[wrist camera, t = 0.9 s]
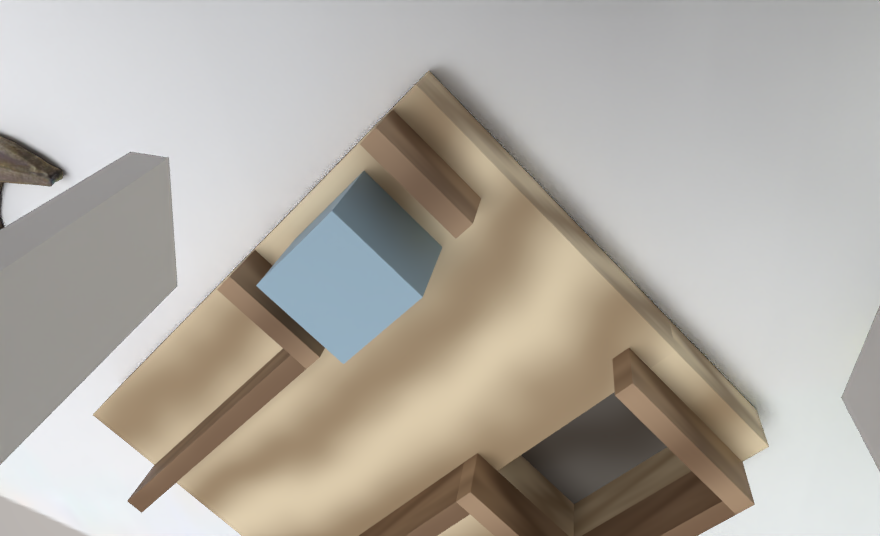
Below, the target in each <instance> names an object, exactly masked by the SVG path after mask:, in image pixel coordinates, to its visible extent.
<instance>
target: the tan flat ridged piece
mask: <svg viewBox="0 0 880 536" xmlns="http://www.w3.org/2000/svg"><path fill="white" fill-rule="evenodd" d="M363 171H365V172H366V173H367V174H368V175H369V176H370V177H371V178H372V179H373V180H374V181H375V182H376V183H377V184H378V185H379V186H380V187H381V188H382V189H383V190H385V191H386V192H387V193H388V194H389V195H390V196H391V197H392V198H393V199H394V200H395V201H396V202H397V203H398V204H399V205H400V206H401V207H402V208H403V209H404V210H405V211H406V212H407V213H408V214H409V215H410V216H411V217H412V218H413V219H414V220H415V221H416V222H417V223H418V224H419V225H420V226H421V227H422V228H423V229H424V230H425V231H426V232H428V233H429V234H430V235H431V236H432V237H433V238H434V239H435V240H436V241H437V242H438V243H439V244H440V245H441V246H442V250H441V252H440V255H439V257H438V260H437V262H436V265H435V267H434V270H433V272H432V275H431V277H430V280H429V282H428V285H427V287H426V290H425V293H424V295H423V297H422V298H421V299H420V300H419V301H418V302H416V303H415V304H414V305H413V306H412V307H410V308H409V309H408V310H407V311H406V312H405V313H403V314H402V315H401V316H400V317H399V318H397V319H396V320H395V321H394V322H393V323H392V324H390V325H389V326H388V327H387V328H386V329H385V330H383V331H382V332H381V333H380V334H379V335H377V336H376V337H375V338H374V339H373V340H372V341H370V342H369V343H368V344H367V345H366V346H364V347H363V348H362V349H361V350H360V351H359V352H357V353H356V354H355V355H354V356H353V357H351V358H350V359H349V360H348V361H347V362H346V363H344V364H343V363H341V362H340V361H339V360H338V359H337V358H336V357H335V356H334V355H333V354H331V353H330V352H329V351H328V350H327V349H326V348H325V347H324V346H323V345H321V344H320V343H319V342H318V341H317V340H316V339H315V338H314V337H313V336H311V335H310V334H309V333H308V332H307V331H306V330H305V329H304V328H303V327H301V326H300V325H299V324H298V323H297V322H296V321H295V320H294V319H293V318H291V317H290V316H289V315H288V314H287V313H286V312H285V311H284V310H283V309H281V308H280V307H279V306H278V305H277V304H276V303H275V302H274V301H273V300H271V299H270V298H269V297H268V296H267V295H266V294H265V293H264V292H263V291H261V290H260V289H259V288H258V287H257V286H256V285H257V284H258V283H259V282H260V280H261V279H262V278H263V277H264V276H265V274H266V273H267V272H268V271H269V270H270V268H271V267H272V266H273V265H274V264H275V262H276V261H277V260H278V259H279V258H280V256H281V255H282V254H283V253H284V252H285V250H286V249H287V248H288V247H289V246H290V245H291V243H292V242H293V241H294V240H295V239H296V238H297V237H298V236H299V235H300V234H301V233H302V232H303V231H304V230H305V229H306V228H307V227H308V226H309V225H310V224H311V223H312V222H313V221H314V220H315V219H316V218H317V217H318V216H319V215H320V214H321V213H322V212H323V211H324V210H325V209H326V208H327V207H328V206H329V205H330V204H331V203H332V202H333V201H334V200H335V199H336V198H337V197H338V196H339V195H340V194H341V193H342V192H343V191H344V190H345V189H346V188H347V187H348V186H349V185H350V184H351V183H352V182H353V181H354V180H355V179H356V178H357V177H358V176H359V175H360V174H361V173H362V172H363ZM93 416H95V417H96V418H97V419H98V420H100V421H101V422H102V423H103V424H105V425H106V426H107V427H108V428H110V429H111V430H112V431H113V432H114V433H116V434H117V435H118V436H119V437H121V438H122V439H123V440H124V441H126V442H127V443H128V444H129V445H130V446H132V447H133V448H134V449H135V450H137V451H138V452H139V453H140V454H142V455H143V456H144V457H145V458H147V459H148V460H149V461H150V462H151V463H153V464H154V466H153V468H152V469H151V470H150V472H149V473H148V474H147V476H146V477H145V478H144V480H143V481H142V482H141V484H140V485H139V486H138V488H137V489H136V490H135V492H134V493H133V494H132V496H131V497H130V498H129V500H128V502H129V503H130V504H132V505H133V506H134V507H135V508H137V509H138V510H139V511H140V512H143V511H144V510H145V509H146V508H148V507H149V506H150V505H151V504H152V503H153V502H154V501H156V500H157V499H158V498H159V497H160V496H161V495H162V494H164V493H165V492H166V491H167V490H168V489H169V488H170V487H172V486H173V485H174V484H175V483H177V484H179V485H180V486H181V487H182V488H184V489H185V490H186V491H187V492H188V493H190V494H191V495H192V496H193V497H195V498H196V499H197V500H198V501H200V502H201V503H202V504H203V505H205V506H206V507H207V508H208V509H209V510H211V511H212V512H213V513H214V514H216V515H217V516H218V517H219V518H221V519H222V520H223V521H224V522H225V523H227V524H228V525H229V526H230V527H232V528H233V529H234V530H235V531H237V532H238V533H239V534H240V535H242V536H698V535H699V534H701V533H703V532H705V531H707V530H709V529H710V528H712V527H714V526H716V525H718V524H720V523H722V522H723V521H725V520H727V519H729V518H731V517H733V516H734V515H736V514H738V513H740V512H742V511H744V510H745V509H747V508H749V507H751V506H753V505H755V504H754V500H753V497H752V494H751V490H750V487H749V483H748V480H747V476H746V473H745V469H744V466H743V461H745V460H746V459H748V458H750V457H751V456H753V455H755V454H757V453H758V452H760V451H762V450H764V449H765V448H767V447H769V446H768V443H767V440H766V437H765V434H764V431H763V428H762V425H761V422H760V419H759V416H758V413H757V411H756V409H755V408H754V407H753V406H752V405H751V404H750V403H749V402H748V401H747V400H746V399H745V398H744V397H743V396H742V395H741V393H740V392H739V391H738V390H737V389H736V388H735V387H734V386H733V385H732V384H731V383H730V382H729V381H728V380H727V379H726V378H725V377H724V376H723V375H722V374H721V373H720V372H719V371H718V370H717V369H716V368H715V367H714V366H713V364H712V363H711V362H710V361H709V360H708V359H707V358H706V357H705V356H704V355H703V354H702V353H701V352H700V351H699V350H698V349H697V348H696V347H695V346H694V345H693V344H692V343H691V342H690V341H689V340H688V339H687V338H686V337H685V335H684V334H683V333H682V332H681V331H680V330H679V329H678V328H677V327H676V326H675V325H674V324H673V323H672V322H671V321H670V320H669V319H668V318H667V317H666V316H665V315H664V314H663V313H662V312H661V311H660V310H659V309H658V308H657V306H656V305H655V304H654V303H653V302H652V301H651V300H650V299H649V298H648V297H647V296H646V295H645V294H644V293H643V292H642V291H641V290H640V289H639V288H638V287H637V286H636V285H635V284H634V283H633V282H632V281H631V280H630V279H629V277H628V276H627V275H626V274H625V273H624V272H623V271H622V270H621V269H620V268H619V267H618V266H617V265H616V264H615V263H614V262H613V261H612V260H611V259H610V258H609V257H608V256H607V255H606V254H605V253H604V252H603V251H602V250H601V248H600V247H599V246H598V245H597V244H596V243H595V242H594V241H593V240H592V239H591V238H590V237H589V236H588V235H587V234H586V233H585V232H584V231H583V230H582V229H581V228H580V227H579V226H578V225H577V224H576V223H575V222H574V221H573V219H572V218H571V217H570V216H569V215H568V214H567V213H566V212H565V211H564V210H563V209H562V208H561V207H560V206H559V205H558V204H557V203H556V202H555V201H554V200H553V199H552V198H551V197H550V196H549V195H548V194H547V193H546V191H545V190H544V189H543V188H542V187H541V186H540V185H539V184H538V183H537V182H536V181H535V180H534V179H533V178H532V177H531V176H530V175H529V174H528V173H527V172H526V171H525V170H524V169H523V168H522V167H521V166H520V165H519V164H518V162H517V161H516V160H515V159H514V158H513V157H512V156H511V155H510V154H509V153H508V152H507V151H506V150H505V149H504V148H503V147H502V146H501V145H500V144H499V143H498V142H497V141H496V140H495V139H494V138H493V137H492V136H491V135H490V133H489V132H488V131H487V130H486V129H485V128H484V127H483V126H482V125H481V124H480V123H479V122H478V121H477V120H476V119H475V118H474V117H473V116H472V115H471V114H470V113H469V112H468V111H467V110H466V109H465V108H464V107H463V106H462V104H461V103H460V102H459V101H458V100H457V99H456V98H455V97H454V96H453V95H452V94H451V93H450V92H449V91H448V90H447V89H446V88H445V87H444V86H443V85H442V84H441V83H440V82H439V81H438V80H437V79H436V78H435V77H434V75H433V74H432V73H431V72H430V71H428V72H427V73H426V74H425V75H424V76H423V77H422V78H421V79H420V80H419V81H418V82H417V83H416V84H415V85H414V86H413V87H412V88H411V89H410V90H409V91H408V92H407V93H406V94H405V95H404V96H403V97H402V98H401V99H400V100H399V101H398V102H397V104H396V105H395V106H394V107H393V108H392V109H391V110H390V111H389V112H388V113H387V114H386V115H385V116H384V117H383V118H382V119H381V120H380V121H379V122H378V123H377V124H376V125H375V126H374V127H373V128H372V129H371V130H370V131H369V132H368V133H367V134H366V135H365V136H364V137H363V138H362V139H361V140H360V141H359V142H358V143H357V144H356V145H355V146H354V147H353V148H352V149H351V150H350V152H349V153H348V154H347V155H346V156H345V157H344V158H343V159H342V160H341V161H340V162H339V163H338V164H337V165H336V166H335V167H334V168H333V169H332V170H331V171H330V172H329V173H328V174H327V175H326V176H325V177H324V178H323V179H322V180H321V181H320V182H319V183H318V184H317V185H316V186H315V187H314V188H313V189H312V190H311V191H310V192H309V193H308V194H307V195H306V196H305V197H304V198H303V199H302V201H301V202H300V203H299V204H298V205H297V206H296V207H295V208H294V209H293V210H292V211H291V212H290V213H289V214H288V215H287V216H286V217H285V218H284V219H283V220H282V221H281V222H280V223H279V224H278V225H277V226H276V227H275V228H274V229H273V230H272V231H271V232H270V233H269V234H268V235H267V236H266V237H265V238H264V239H263V240H262V241H261V242H260V243H259V244H258V245H257V246H256V247H255V249H254V250H253V251H252V252H251V253H250V254H249V255H248V256H247V257H246V258H245V259H244V260H243V261H242V262H241V263H240V264H239V265H238V266H237V267H236V268H235V269H234V270H233V271H232V272H231V273H230V274H229V275H228V276H227V277H226V278H225V279H224V280H223V281H222V282H221V283H220V284H219V285H218V286H217V287H216V288H215V289H214V290H213V291H212V292H211V293H210V294H209V295H208V297H207V298H206V299H205V300H204V301H203V302H202V303H201V304H200V305H199V306H198V307H197V308H196V309H195V310H194V311H193V312H192V313H191V314H190V315H189V316H188V317H187V318H186V319H185V320H184V321H183V322H182V323H181V324H180V325H179V326H178V327H177V328H176V329H175V330H174V331H173V332H172V333H171V334H170V335H169V336H168V337H167V338H166V339H165V340H164V341H163V342H162V343H161V345H160V346H159V347H158V348H157V349H156V350H155V351H154V352H153V353H152V354H151V355H150V356H149V357H148V358H147V359H146V360H145V361H144V362H143V363H142V364H141V365H140V366H139V367H138V368H137V369H136V370H135V371H134V372H133V373H132V374H131V375H130V376H129V377H128V378H127V379H126V380H125V381H124V382H123V383H122V384H121V385H120V386H119V387H118V389H117V390H116V391H115V392H114V393H113V394H112V395H111V396H110V397H109V398H108V399H107V400H106V401H105V402H104V403H103V404H102V405H101V407H100V408H99V409H98V410H97V411H96V412H95V413H94V414H93Z"/></svg>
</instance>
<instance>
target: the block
mask: <svg viewBox="0 0 880 536" xmlns="http://www.w3.org/2000/svg"><path fill="white" fill-rule="evenodd" d="M441 250H442V246H441V245H440V244H439V243H438V242H437V241H436V240H435V239H434V238H433V237H432V236H431V235H430V234H429V233H428V232H426V231H425V230H424V229H423V228H422V227H421V226H420V225H419V224H418V223H417V222H416V221H415V220H414V219H413V218H412V217H411V216H410V215H409V214H408V213H407V212H406V211H405V210H404V209H403V208H402V207H401V206H400V205H399V204H398V203H397V202H396V201H395V200H394V199H393V198H392V197H391V196H390V195H389V194H388V193H387V192H386V191H385V190H383V189H382V188H381V187H380V186H379V185H378V184H377V183H376V182H375V181H374V180H373V179H372V178H371V177H370V176H369V175H368V174H367V173H366V172H365V171H363V172H362V173H361V174H360V175H359V176H358V177H357V178H356V179H355V180H354V181H353V182H352V183H351V184H350V185H349V186H348V187H347V188H346V189H345V190H344V191H343V192H342V193H341V194H340V195H339V196H338V197H337V198H336V199H335V200H334V201H333V202H332V203H331V204H330V205H329V206H328V207H327V208H326V209H325V210H324V211H323V212H322V213H321V214H320V215H319V216H318V217H317V218H316V219H315V220H314V221H313V222H312V223H311V224H310V225H309V226H308V227H307V228H306V229H305V230H304V231H303V232H302V233H301V234H300V235H299V236H298V237H297V238H296V239H295V240H294V241H293V242H292V243H291V245H290V246H289V247H288V248H287V249H286V250H285V252H284V253H283V254H282V255H281V256H280V258H279V259H278V260H277V261H276V262H275V264H274V265H273V266H272V267H271V268H270V270H269V271H268V272H267V273H266V274H265V276H264V277H263V278H262V279H261V280H260V282H259V283H258V284H257V285H256V286H257V287H258V288H259V289H260V290H261V291H263V292H264V293H265V294H266V295H267V296H268V297H269V298H270V299H271V300H273V301H274V302H275V303H276V304H277V305H278V306H279V307H280V308H281V309H283V310H284V311H285V312H286V313H287V314H288V315H289V316H290V317H291V318H293V319H294V320H295V321H296V322H297V323H298V324H299V325H300V326H301V327H303V328H304V329H305V330H306V331H307V332H308V333H309V334H310V335H311V336H313V337H314V338H315V339H316V340H317V341H318V342H319V343H320V344H321V345H323V346H324V347H325V348H326V349H327V350H328V351H329V352H330V353H331V354H333V355H334V356H335V357H336V358H337V359H338V360H339V361H340V362H341V363H343V364H344V363H346V362H347V361H348V360H349V359H350V358H351V357H353V356H354V355H355V354H356V353H357V352H359V351H360V350H361V349H362V348H363V347H364V346H366V345H367V344H368V343H369V342H370V341H372V340H373V339H374V338H375V337H376V336H377V335H379V334H380V333H381V332H382V331H383V330H385V329H386V328H387V327H388V326H389V325H390V324H392V323H393V322H394V321H395V320H396V319H397V318H399V317H400V316H401V315H402V314H403V313H405V312H406V311H407V310H408V309H409V308H410V307H412V306H413V305H414V304H415V303H416V302H418V301H419V300H420V299H421V298H422V297H423V295H424V293H425V290H426V287H427V285H428V282H429V280H430V277H431V275H432V272H433V270H434V267H435V265H436V262H437V260H438V257H439V255H440V252H441Z"/></svg>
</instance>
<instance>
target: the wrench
mask: <svg viewBox="0 0 880 536" xmlns="http://www.w3.org/2000/svg"><path fill="white" fill-rule="evenodd" d="M62 178H63V171H62V170H61V169H59V168H57V167H55V166H52V165H50V164H48V163H47V162H46V161H44V160H43V159H41V158H40V157H38V156H36V155H35V154H33V153H31V152H29V151H28V150H26V149H24V148H23V147H21V146H19V145H18V144H16V143H14V142H13V141H11V140H8V139H6V138H3V137H1V136H0V192H1V190H2V185H3V182H7V183H17V184H32V185H42V186H52V185H53V184H54V183H55V182H57V181H59V180H61V179H62ZM3 228H4V227H3V225H2V222H1V218H0V230H1V229H3Z"/></svg>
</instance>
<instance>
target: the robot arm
mask: <svg viewBox="0 0 880 536" xmlns="http://www.w3.org/2000/svg"><path fill="white" fill-rule="evenodd" d="M176 287H177V272H176V257H175V242H174V227H173V212H172V197H171V182H170V167H169V158H168V157H161V156H154V155H148V154H141V153H135V152H129V153H128V154H126V155H124V156H123V157H121V158H119V159H118V160H116V161H114V162H113V163H111V164H109V165H108V166H106V167H104V168H103V169H101V170H99V171H98V172H96V173H94V174H93V175H91V176H89V177H88V178H86V179H84V180H83V181H81V182H79V183H78V184H76V185H74V186H73V187H71V188H69V189H68V190H66V191H64V192H63V193H61V194H59V195H58V196H56V197H54V198H53V199H51V200H49V201H48V202H46V203H44V204H43V205H41V206H39V207H38V208H36V209H34V210H33V211H31V212H29V213H28V214H26V215H24V216H23V217H21V218H19V219H18V220H16V221H14V222H13V223H11V224H9V225H8V226H6V227H4V228H3V229H1V230H0V465H1V464H2V462H3V461H4V460H5V459H6V458H7V457H8V456H9V455H10V454H11V453H12V452H13V451H14V450H15V449H16V448H17V447H18V446H19V445H20V444H21V443H22V442H23V441H24V440H25V439H26V438H27V437H28V436H29V435H30V434H31V433H32V432H33V431H34V430H35V429H36V428H37V427H38V426H39V425H40V424H41V423H42V422H43V421H44V420H45V419H46V418H47V417H48V416H49V415H50V414H51V413H52V412H53V411H54V410H55V409H56V408H57V407H58V406H59V405H60V404H61V403H62V402H63V401H64V400H65V399H66V398H67V397H68V396H69V395H70V394H71V393H72V392H73V391H74V390H75V389H76V388H77V387H78V386H79V385H80V384H81V383H82V382H83V381H84V380H85V379H86V378H87V377H88V376H89V375H90V374H91V373H92V372H93V371H94V370H95V369H96V368H97V367H98V366H99V365H100V364H101V363H102V362H103V361H104V360H105V359H106V358H107V357H108V356H109V355H110V353H111V352H112V351H113V350H114V349H115V348H116V347H117V346H118V345H119V344H120V343H121V342H122V341H123V340H124V339H125V338H126V337H127V336H128V335H129V334H130V333H131V332H132V331H133V330H134V329H135V328H136V327H137V326H138V325H139V324H140V323H141V322H142V321H143V320H144V319H145V318H146V317H147V316H148V315H149V314H150V313H151V312H152V311H153V310H154V309H155V308H156V307H157V306H158V305H159V304H160V303H161V302H162V301H163V300H164V299H165V298H166V297H167V296H168V295H169V294H170V293H171V292H172V291H173V290H174V289H175V288H176ZM841 398H842V400H843V402H844V404H845V406H846V408H847V410H848V412H849V414H850V415H851V417H852V419H853V421H854V423H855V425H856V427H857V429H858V431H859V433H860V435H861V437H862V439H863V441H864V442H865V444H866V446H867V448H868V450H869V452H870V454H871V456H872V458H873V460H874V462H875V464H876V466H877V468H878V469H879V471H880V306H879V309H878V311H877V314H876V316H875V318H874V321H873V323H872V325H871V328H870V330H869V333H868V335H867V337H866V340H865V342H864V345H863V347H862V349H861V352H860V354H859V357H858V359H857V361H856V364H855V366H854V369H853V371H852V373H851V376H850V378H849V381H848V383H847V385H846V388H845V390H844V393H843V395H842V397H841Z"/></svg>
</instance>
